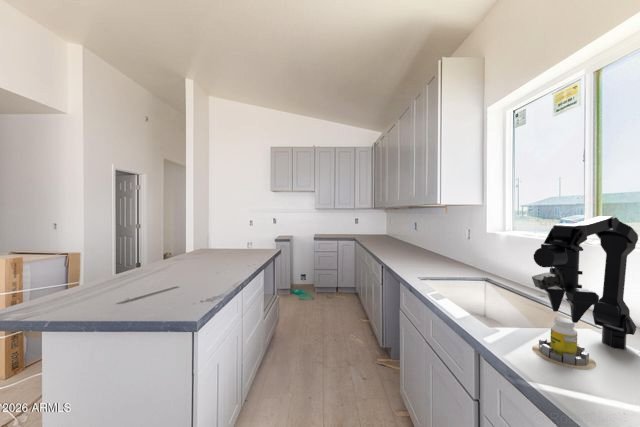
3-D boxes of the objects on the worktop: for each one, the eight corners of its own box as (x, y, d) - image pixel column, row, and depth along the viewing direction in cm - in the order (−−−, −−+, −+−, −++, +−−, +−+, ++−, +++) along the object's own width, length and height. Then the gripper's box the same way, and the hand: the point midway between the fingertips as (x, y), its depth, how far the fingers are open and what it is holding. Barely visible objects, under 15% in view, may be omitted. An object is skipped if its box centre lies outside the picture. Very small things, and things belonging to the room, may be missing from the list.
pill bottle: (545, 349, 93) (546, 315, 92) (568, 352, 91) (569, 317, 91) (557, 359, 87) (558, 322, 86) (581, 362, 85) (582, 324, 85)
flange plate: (527, 343, 99) (527, 340, 99) (584, 353, 93) (585, 350, 93) (538, 364, 86) (538, 361, 86) (606, 378, 79) (606, 374, 79)
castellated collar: (535, 343, 97) (535, 334, 97) (579, 351, 92) (580, 342, 92) (544, 359, 86) (544, 349, 86) (594, 369, 82) (595, 359, 81)
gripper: (521, 259, 99) (520, 304, 100) (554, 270, 81) (553, 326, 81) (558, 260, 97) (557, 307, 98) (601, 273, 79) (599, 330, 79)
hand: (564, 316), depth 89 cm, fingers open, 9 cm apart
